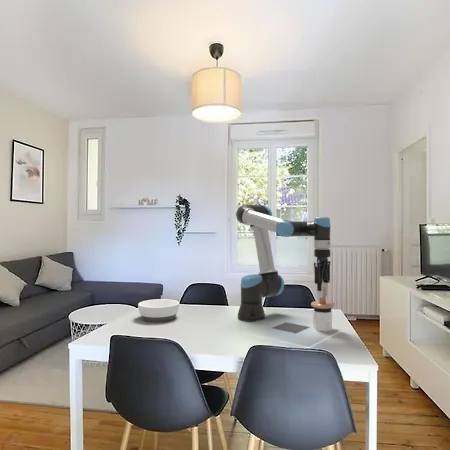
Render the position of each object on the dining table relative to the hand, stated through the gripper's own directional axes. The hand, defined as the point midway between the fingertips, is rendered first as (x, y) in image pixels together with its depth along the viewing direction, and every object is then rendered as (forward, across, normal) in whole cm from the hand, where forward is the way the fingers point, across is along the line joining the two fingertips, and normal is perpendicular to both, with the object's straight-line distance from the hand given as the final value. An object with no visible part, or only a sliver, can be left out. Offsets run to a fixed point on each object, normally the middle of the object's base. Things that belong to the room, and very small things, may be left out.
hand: (322, 296), depth 175 cm
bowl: (+17, -37, +79) cm, 89 cm away
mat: (+16, -8, +13) cm, 22 cm away
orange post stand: (+4, 0, 0) cm, 4 cm away
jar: (+16, 0, 0) cm, 16 cm away
